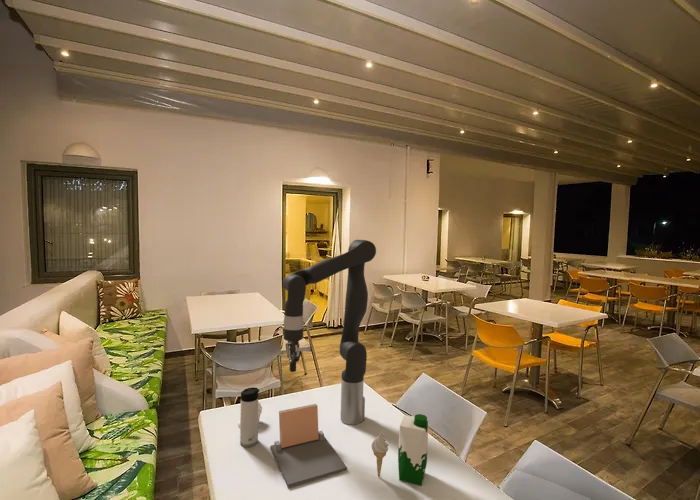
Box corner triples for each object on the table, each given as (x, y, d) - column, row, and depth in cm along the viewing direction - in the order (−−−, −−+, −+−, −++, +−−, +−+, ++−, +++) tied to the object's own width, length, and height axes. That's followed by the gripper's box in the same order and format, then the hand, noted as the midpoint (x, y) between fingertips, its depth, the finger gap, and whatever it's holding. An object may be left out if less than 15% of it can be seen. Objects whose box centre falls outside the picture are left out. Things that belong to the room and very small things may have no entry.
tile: (316, 437, 136) (315, 403, 138) (318, 439, 135) (317, 405, 136) (280, 446, 130) (279, 411, 131) (281, 448, 128) (280, 412, 130)
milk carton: (424, 488, 112) (426, 425, 111) (395, 481, 115) (397, 419, 114) (427, 471, 121) (430, 412, 120) (400, 464, 124) (402, 407, 123)
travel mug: (253, 448, 131) (254, 394, 130) (236, 446, 132) (237, 391, 131) (261, 439, 137) (262, 386, 136) (245, 436, 138) (245, 384, 137)
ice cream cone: (369, 471, 120) (370, 427, 119) (386, 471, 120) (387, 426, 119) (371, 483, 114) (373, 436, 113) (389, 482, 115) (390, 436, 114)
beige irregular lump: (263, 399, 150) (246, 415, 139) (264, 418, 151) (247, 436, 140) (249, 396, 152) (232, 413, 140) (250, 415, 153) (233, 433, 142)
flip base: (322, 436, 140) (322, 427, 139) (347, 470, 120) (347, 460, 120) (270, 448, 131) (270, 439, 131) (288, 488, 111) (288, 477, 111)
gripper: (308, 330, 135) (307, 375, 136) (297, 321, 147) (296, 364, 148) (289, 332, 132) (288, 379, 133) (279, 323, 144) (278, 366, 144)
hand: (292, 371), depth 140 cm, fingers closed
